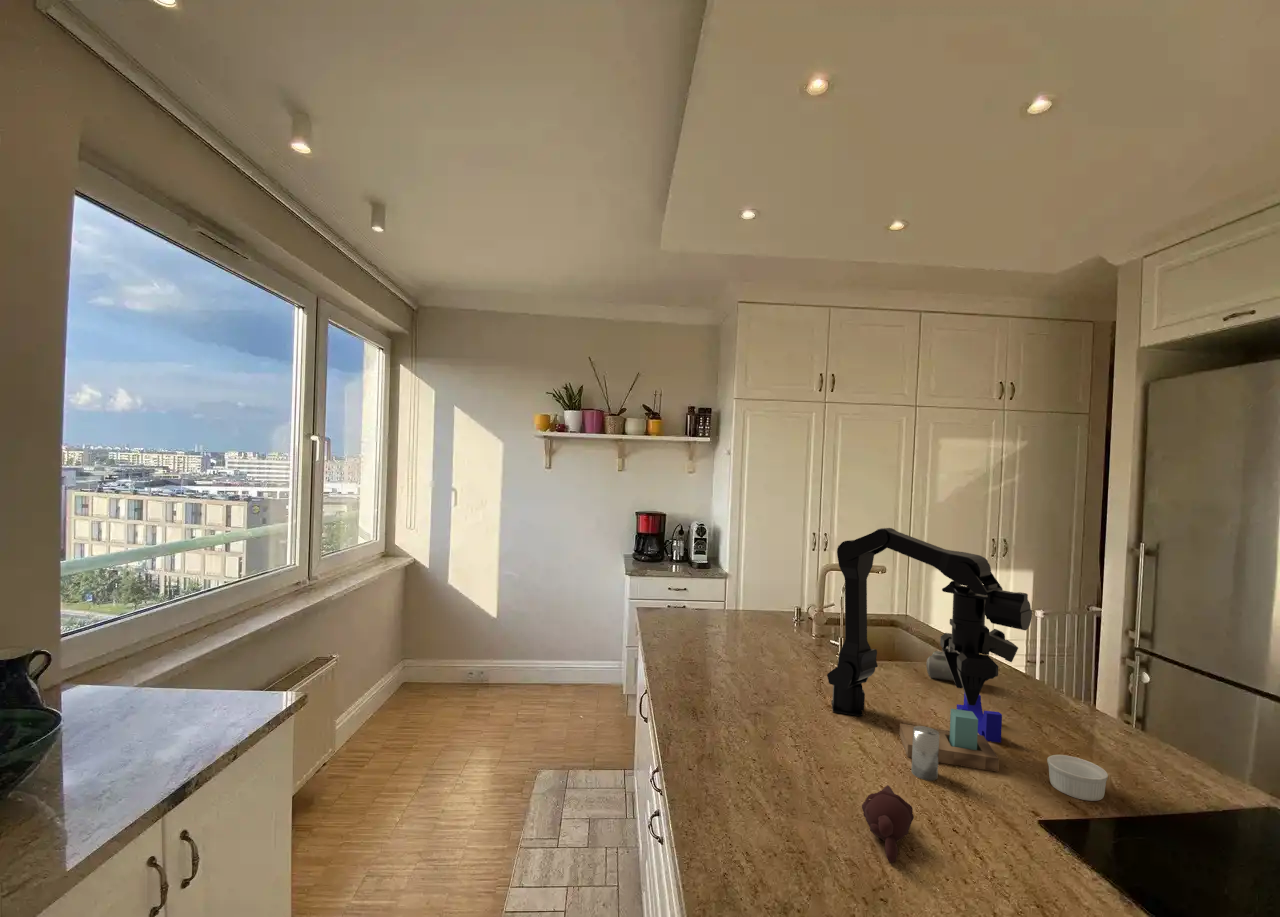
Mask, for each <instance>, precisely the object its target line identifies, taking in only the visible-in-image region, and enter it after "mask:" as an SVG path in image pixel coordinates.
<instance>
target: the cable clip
mask: <svg viewBox="0 0 1280 917" xmlns="http://www.w3.org/2000/svg"><path fill="white" fill-rule="evenodd" d="M963 692H964V691H963ZM956 709H958V710H965V711H972V712H973V713H974V714H975V716H976V717H977V719H978V735H982V736H984V737H985V739H986V740H987V742H990V741H991V742H992V743H1000V744H1001V743H1002V727H1003V726H1002V725H1003V714H1002V713H1000V712H999V711H991V710H983V707H982V696H981V694H979V696H978V699H977V702H976V704H975V705H969V704H968V701H967V698H966V695H965V692H964V693H963V704H956Z"/></svg>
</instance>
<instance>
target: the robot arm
mask: <svg viewBox="0 0 1280 917" xmlns="http://www.w3.org/2000/svg"><path fill="white" fill-rule="evenodd" d="M886 549H889V550H892V551H894V552H896V553H900V554H901V555H904V556H907V557H909V558H912V559H914V560H916V561H919V562H921V563H924V564H926V565H929V566H931V567H933V568H935V569H936V570H938V571H939V572H940V573H941V574H942V575H943V576H945V577H947V578H948V579H950V580H951V581H950V582H949V583H948V584H947V585H946V586H945V587H943V588H942V589H941V591H942V592H943V593H949V594H952V617H951V618H949V625H950V626H951V632H949V633H948V632H944V633H943V634H942V635H941V636H940V639H939V642H940V644H939V645H940V647H941V652H943V653H944V656H945V658H946V661H947V663H948V666H949V669H950V671H951V674H952V676H953V679H954V684H955V687H956V688H957V689H963V692H965V695H966V698H967V701H968V704H969V705H975V704H976V702H977V699H978V696H979V695H981V691H982V689H983V686H984V684H985V682H987V681H988V680H992V679H995V678H996V677H999V665H998V664H997V663H996V662H995V661H994V660H993V659H992V658H991V657H990V653H991V654H994V655H995V656H998V657H1001V658H1002V659H1004V660H1005V661H1006V662H1009V663H1012V662H1013V661H1014V658H1015V656H1016V654H1017V652H1018V650H1019V647H1018V646H1017V645H1015V643H1013V642H1012V641H1010V640H1009V639H1007V638H1006V636H1005V633H1004V632H1003V631H1001V630H1000V629H997V628H993V629H992V630H991V631H990V629H989V628H988V627H987V626H986V625H985V624H986V619H987V620H989V622H990V623H991V624H994V625H998V626H1004V627H1007V628H1013V629H1017V630H1021V631H1024V632H1025V631H1027V630H1028V629H1029V628H1030V625H1031V622H1032V617H1033V616H1032V615H1033V610H1032V609H1031V608H1032V607H1031V603H1030V601H1029V598H1028V596H1029V594H1028V593H1024V592H1020V591H1019V592H1013V591H1009V590H1003V587H1002V585H1001V584H1000V583H999V581H998V580H997V578H996V577H995V575H994V574H993V573H992V569H991V565H990V563H989V562H988V560H987V559H986V557H984V556H982V555H980V554H974V553H969V552H965V551H958V550H952V549H951V550H950V549H945V548H943V547H940V546H937V545H934V544H931V543H929V542H927V541H924V540H922V539H918V538H916V537H913V536H911V535H908V534H905V533H902V532H900V531H897V530H895V529H894V528H892V527H882V528H877V529H876V530H875V531H873V532H870V533H869V534H866V535H864V536H863V535H862V536H861V537H859V538H856V539H850V540H844V541H842V542H840V544H839V545H838V546H837V549H836V555H837V556H836V557H837V562H838V567H839V569H840V571H841V573H842V575H843V578H844V617H845V618H844V633H845V634H844V635H845V636H844V642H843V644H842V646H841V649H840V650H839V654H838V660H837V666H836V667H834V668H833V669H832V670H831V671H829V672H828V673H827V674H826V677H827V681H828V683H829V684H830V685H832V699H831V710H832V712H833V713H836V714H842V715H843V714H844V715H850V716H857V717H863V716H864V715H863V712H865V699H866V698H865V697H866V693H865V690H864V688H863V683H864V684H865V683H867V681H868V679H869V677H872V676H873V674H875V671H876V668H878V667H879V665H878V663H877V655H878V650H877V649H876V648H871V646H870V644H869V642H868V582H867V581H868V577H869V575H870V572H871V570H872V568H873V565H874V560H875V555H878V554H880V553H881V552H884V551H885V550H886Z"/></svg>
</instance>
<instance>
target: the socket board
mask: <svg viewBox="0 0 1280 917" xmlns="http://www.w3.org/2000/svg"><path fill="white" fill-rule="evenodd" d="M915 726H916V725H913V724H905V723H899V734H898V735H900V736H899V738H900V741H901V743H902V746H903V749H904V751H905V755H906V756H907V758H911V759H912V746H913V728H914V727H915ZM931 728H932V729H934V730H936V731H938V732H939V755H938V763H941V764H949V765H953V766H959V767H968V768H972V769H980V770H983V771H990V772H999V768H1000V766H999V765H1000V758H999V756H998V755H997V753H996V752H995V750H994V749H993V747H992V746H991V745H990V743H989V741H987V740H986V739H985V737H984V736H982V735H980V734H978V736H977V750H972V749H965V748H959V747H952V746H951V745H950V743H949V737H950V730H949V729H948V730H947V729H940V728H939V729H938V728H933V727H931Z"/></svg>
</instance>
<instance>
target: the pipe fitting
mask: <svg viewBox="0 0 1280 917" xmlns="http://www.w3.org/2000/svg"><path fill="white" fill-rule="evenodd" d="M926 672H927V674H928V676H929V677H930V678H931V679H936V680H937V679H938V680H944V681H945V680H946V681H954V679H953V676H952V674H951V671H950V669H949V666H948V663H947V661H946V658H945V656H944V653H943V651H938V650H937V651H934V652H933V653H932V655H929V656H928V657H927V659H926Z"/></svg>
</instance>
